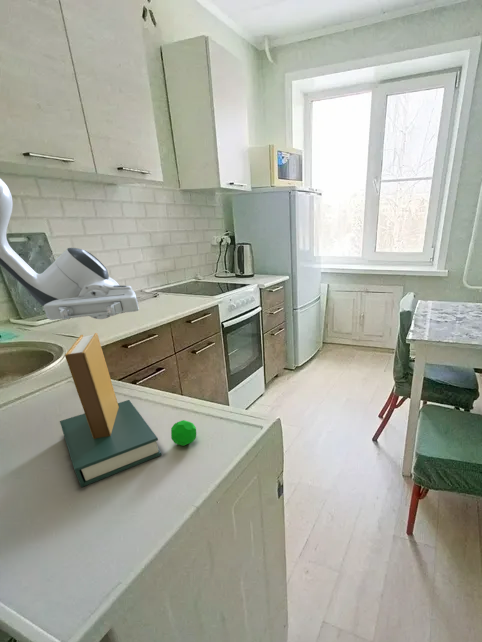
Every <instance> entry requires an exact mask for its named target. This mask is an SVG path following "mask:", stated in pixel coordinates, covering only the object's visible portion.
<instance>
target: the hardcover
mask: <svg viewBox="0 0 482 642" xmlns="http://www.w3.org/2000/svg"><path fill="white" fill-rule="evenodd" d="M118 406H119V408H118V411H117V415H116V418H115V422H114V425H113V429H112V432H111V436H107V437H101V438H96V439H94V438H93V436H92V433H91V430H90V427H89V424H88V421H87V418H86V415H85V412H84V413H81V414H78V415H74V416H71V417H68V418H65V419H62V420H59V424H60V427H61V431H62V433H63V437H64V440H65V443H66V447H67V450H68V453H69V457H70V460H71V464H72V467H73V470H74V472H75V475H76V478H77V480H78V483H79V485H80V487H81V488H84V487H87V486H89V485H91V484H93V483H96V482H98V481H101V480H102V479H103V480H104V479H106V478H108V477H111V476H113V475H116V474H118V473H121V472H123V471H126V470H128V469H130V468H133V467H135V466H138V465H140V464H143V463H145V462H148V461H150V460H153V459H155V458H157V457H160V456H162V452H161V450H160V449H159V447H158V442H157V441H159V439H158V436H157V435H156V434H155V432H154V431H153V430H152V428H151V427H150V426H149V424H148V423H147V421H146V420H145V419H144V417H142V415H141V413H140V412H139V410H137V408H136V407H135V406H134V404H133V403H132V401H131V400H130V399H127V400H124V401H120V402H118Z"/></svg>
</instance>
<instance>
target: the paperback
mask: <svg viewBox="0 0 482 642" xmlns="http://www.w3.org/2000/svg"><path fill="white" fill-rule="evenodd" d="M64 357H65V360H66V363H67V367H68V369H69V372H70V375H71V377H72V381H73V384H74V386H75V390H76V393H77V395H78V397H79V401H80V404H81V407H82V410H83V412H84V413H85V415H86V418H87V421H88V424H89V427H90V430H91V433H92V436H93V438H94V439H96V438H101V437H107V436H111V432H112V429H113V425H114V422H115V418H116V415H117V411H118V408H119V406H118V403H119V402H118V399H117V396H116V392H115V389H114V385H113V382H112V379H111V375H110V372H109V369H108V365H107V362H106V359H105V355H104V351H103V348H102V345H101V341H100V338H99V335H98V333H97V332H95V333H94V334H90V335H84V334H80V335H79V337H78V338H77V339H76V340H75V341H74V343H73V344H72V345H71V347H70V348H69V349H68V351H67V352H66V353H65V354H64Z"/></svg>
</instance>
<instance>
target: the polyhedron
mask: <svg viewBox="0 0 482 642" xmlns="http://www.w3.org/2000/svg"><path fill="white" fill-rule="evenodd" d="M170 435H171V436H170V437H171V440H172V441H173V443H174V444H176V445H178V446H182V447H183V446H184V447H185V446H188V445H190V444H192V443H194V441H195V440H196V438H197V427H196V426H195V424H194V423H193V422H191V421H189V420H185V419H184V420H183V419H182V420H180V421H177V422H175V423H173V425H172V427H171V430H170Z"/></svg>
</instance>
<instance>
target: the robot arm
mask: <svg viewBox="0 0 482 642" xmlns="http://www.w3.org/2000/svg"><path fill="white" fill-rule="evenodd" d="M13 205H14V202H13V197H12V192H11V190H10V188H9V187H8V185H7V184H6V183H5V181H4V180H3V179H2V178H1V177H0V266H1V267H2V268H3V269H4V270H5V271H6V272H7V273H9V274H10V275H11V276H12V277H13V278H14V279H15V280H16V281H17V282H18V283H19V284H21V286H23V288H25V289H26V291H27V292H28V293H29V294H30V295H31V296H32V297H33V298H34V300H35V301H37V303H38V304H40V305H41V306H42V307H43V310H44V314H45V316H46V318H47V319H48V320H50V321H56V320H69V319H75V318H85V317H90V318H93V319H95V320H105V319H109V318H110V317H114V316H117V315H119V314H124V313H125V314H126V313H134V312H138V311H139V310H140V307H139V301H138V298H137V294H136V292H135V290H134V289H133V287H132V286H131V285H120V284H119V283H118V281H117V280H115V279H114V278H112V277H111V276H110V274H109V272H108V269H107V268H106V266H105V265H104V264H103V263H102V261H100V260H99V258H97V257H96V256H95V255H93V254H92V253H91V252H89V251H87V250H85V249H82V248H78V247H67V248H66V250H63V252H62V253H61V254H59V256H58V257H56V258H55V260H54V261H53V262H52V263H51V264H50V265H48V267H47V268H46V269H45V270H44V271H43V272H41V273H38V272H36V271H35V270H34V269H33V268H32V267H31V266H30V265H29V264H28V263H27V262H26V261H25V260H24V259H23V258H22V257H21V256H20V255H19V254H18V253H17V252H15V250H14V249H13V248H12V247H11V245H10V244H9V241H8V238H7V231H8V226H9V223H10V220H11V217H12V214H13V207H14V206H13Z"/></svg>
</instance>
